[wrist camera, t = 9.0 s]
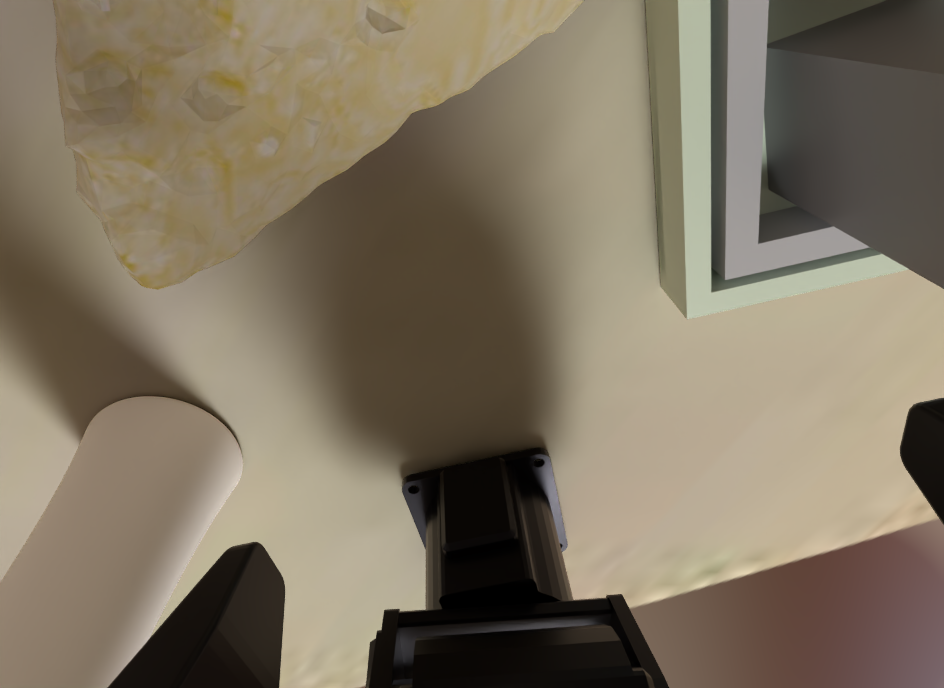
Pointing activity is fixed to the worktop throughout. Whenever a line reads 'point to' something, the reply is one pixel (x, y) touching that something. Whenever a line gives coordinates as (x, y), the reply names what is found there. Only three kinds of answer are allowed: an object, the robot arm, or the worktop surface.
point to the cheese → (253, 105)
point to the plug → (864, 128)
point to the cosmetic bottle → (113, 542)
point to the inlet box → (734, 161)
